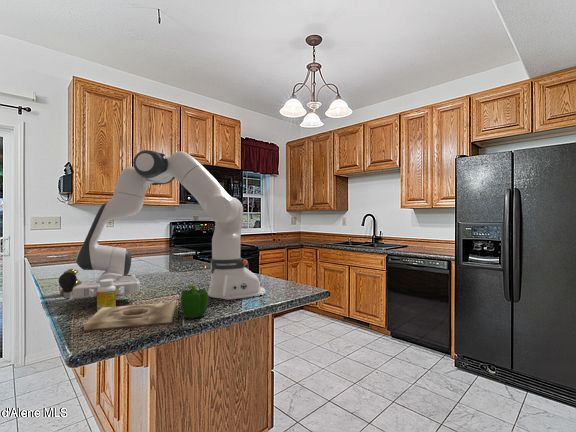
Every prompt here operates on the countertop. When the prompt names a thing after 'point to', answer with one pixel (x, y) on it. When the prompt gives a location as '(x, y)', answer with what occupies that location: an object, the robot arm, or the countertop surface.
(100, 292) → the supplement bottle
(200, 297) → the bell pepper
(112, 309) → the socket board
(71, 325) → the countertop surface
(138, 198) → the robot arm
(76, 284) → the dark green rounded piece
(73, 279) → the light bulb
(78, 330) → the countertop surface
